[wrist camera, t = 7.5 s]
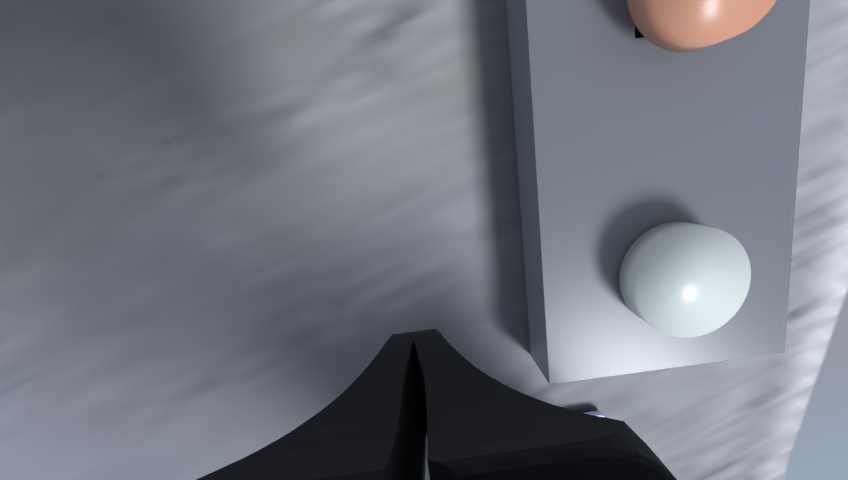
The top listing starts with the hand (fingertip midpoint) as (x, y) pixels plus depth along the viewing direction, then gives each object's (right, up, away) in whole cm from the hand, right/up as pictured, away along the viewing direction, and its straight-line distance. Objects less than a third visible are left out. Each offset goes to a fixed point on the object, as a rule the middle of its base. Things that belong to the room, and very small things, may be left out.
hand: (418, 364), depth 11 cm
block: (+11, +8, +9) cm, 17 cm away
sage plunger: (+12, +2, +10) cm, 16 cm away
